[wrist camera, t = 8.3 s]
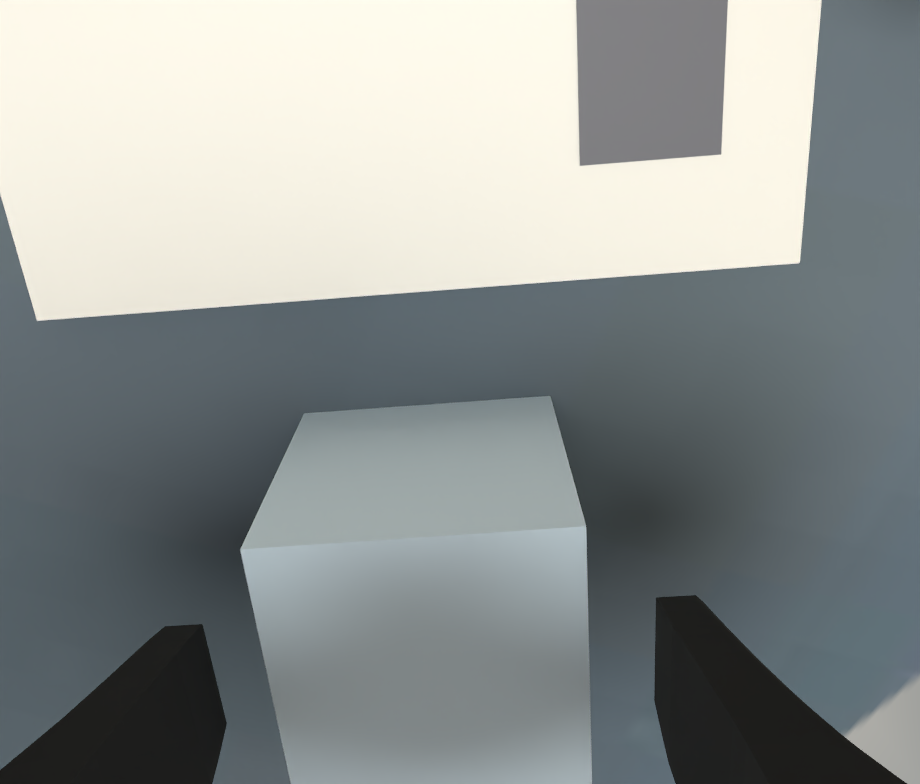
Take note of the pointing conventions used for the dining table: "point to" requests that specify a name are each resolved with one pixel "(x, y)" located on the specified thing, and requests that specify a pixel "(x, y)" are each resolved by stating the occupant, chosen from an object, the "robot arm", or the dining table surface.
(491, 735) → the pale blue cube
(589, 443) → the dining table surface
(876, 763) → the robot arm
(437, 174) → the letter card
